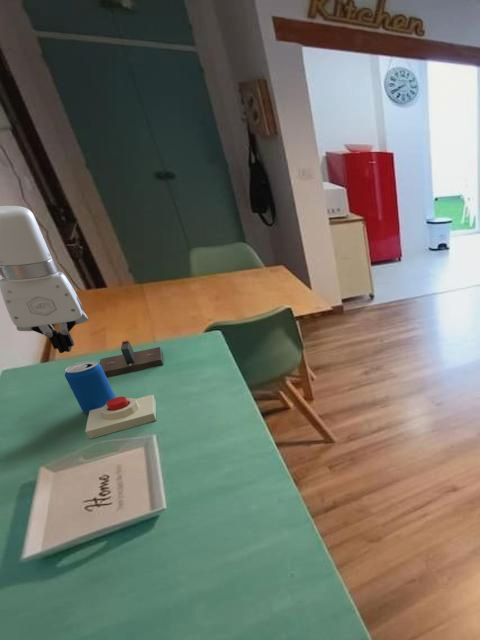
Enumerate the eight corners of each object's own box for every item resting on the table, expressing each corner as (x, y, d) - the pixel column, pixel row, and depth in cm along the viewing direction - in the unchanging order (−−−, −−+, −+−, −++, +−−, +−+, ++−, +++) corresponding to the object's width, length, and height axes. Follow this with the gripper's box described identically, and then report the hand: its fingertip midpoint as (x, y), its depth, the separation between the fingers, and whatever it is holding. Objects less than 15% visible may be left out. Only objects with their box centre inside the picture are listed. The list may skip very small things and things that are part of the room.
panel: (100, 379, 117) (97, 372, 116) (103, 364, 124) (100, 358, 123) (163, 365, 125) (160, 358, 124) (162, 352, 132) (160, 346, 131)
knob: (133, 362, 122) (127, 347, 120) (126, 363, 121) (120, 348, 119) (134, 354, 126) (128, 339, 124) (127, 355, 125) (121, 341, 123)
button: (108, 413, 97) (105, 406, 96) (109, 405, 100) (106, 399, 99) (128, 407, 99) (125, 401, 99) (129, 400, 102) (126, 394, 101)
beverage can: (122, 405, 106) (104, 364, 101) (89, 418, 101) (68, 375, 96) (111, 397, 109) (93, 357, 104) (79, 410, 104) (57, 368, 99)
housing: (89, 439, 94) (81, 425, 92) (93, 417, 101) (86, 404, 100) (156, 420, 101) (150, 406, 99) (155, 401, 108) (150, 388, 106)
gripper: (-33, 280, 78) (12, 365, 86) (78, 269, 86) (109, 348, 94) (-21, 270, 83) (20, 351, 91) (82, 261, 92) (112, 336, 99)
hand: (66, 349), depth 92 cm, fingers closed
